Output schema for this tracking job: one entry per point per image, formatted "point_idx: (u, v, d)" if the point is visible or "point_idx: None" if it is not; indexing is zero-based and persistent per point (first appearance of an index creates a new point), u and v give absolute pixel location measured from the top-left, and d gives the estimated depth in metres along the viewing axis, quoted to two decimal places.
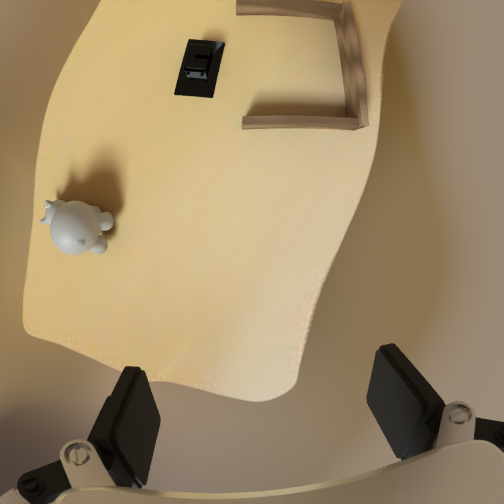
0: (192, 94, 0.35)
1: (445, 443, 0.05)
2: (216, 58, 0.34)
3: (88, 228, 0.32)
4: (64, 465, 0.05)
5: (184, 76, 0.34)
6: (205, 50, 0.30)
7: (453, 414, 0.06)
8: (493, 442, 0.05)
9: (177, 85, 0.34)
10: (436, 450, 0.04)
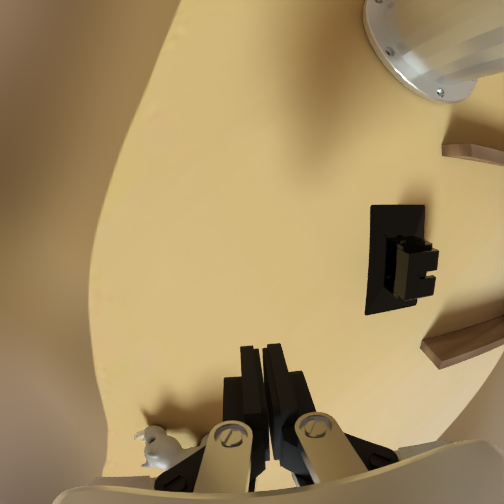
0: (391, 307, 0.24)
1: (323, 462, 0.06)
2: None
3: None
4: (221, 450, 0.06)
5: (379, 284, 0.23)
6: (433, 262, 0.18)
7: (309, 429, 0.07)
8: None
9: (369, 299, 0.23)
10: (436, 450, 0.04)
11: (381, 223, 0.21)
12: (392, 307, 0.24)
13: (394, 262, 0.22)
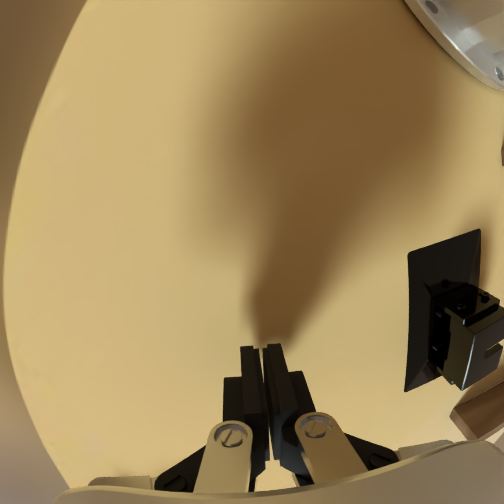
0: (435, 377, 0.15)
1: (323, 462, 0.06)
2: None
3: None
4: (221, 450, 0.06)
5: (421, 358, 0.14)
6: (502, 330, 0.09)
7: (309, 429, 0.07)
8: None
9: (407, 378, 0.14)
10: (436, 450, 0.04)
11: (425, 278, 0.13)
12: (437, 376, 0.15)
13: (443, 328, 0.13)
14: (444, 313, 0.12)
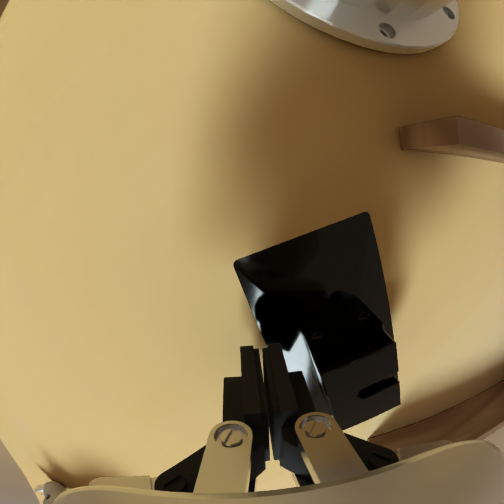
0: None
1: (323, 462, 0.06)
2: (369, 300, 0.12)
3: None
4: (221, 450, 0.06)
5: (310, 384, 0.13)
6: (385, 365, 0.09)
7: (309, 429, 0.07)
8: None
9: None
10: (436, 450, 0.04)
11: (279, 299, 0.12)
12: None
13: None
14: None
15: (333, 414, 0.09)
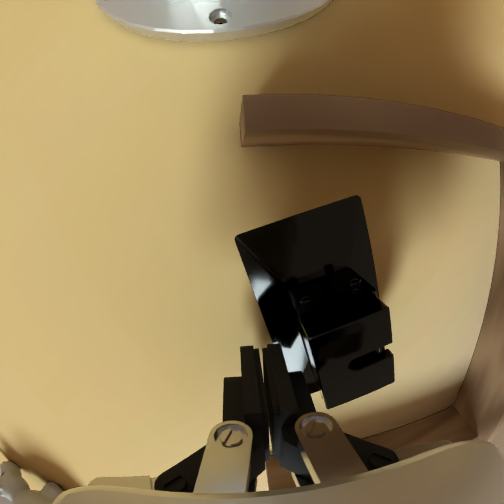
0: None
1: (323, 462, 0.06)
2: (361, 272, 0.12)
3: None
4: (221, 450, 0.06)
5: (299, 361, 0.13)
6: (378, 333, 0.09)
7: (309, 429, 0.07)
8: None
9: None
10: (436, 450, 0.04)
11: (268, 265, 0.12)
12: None
13: None
14: (307, 307, 0.12)
15: (322, 387, 0.09)
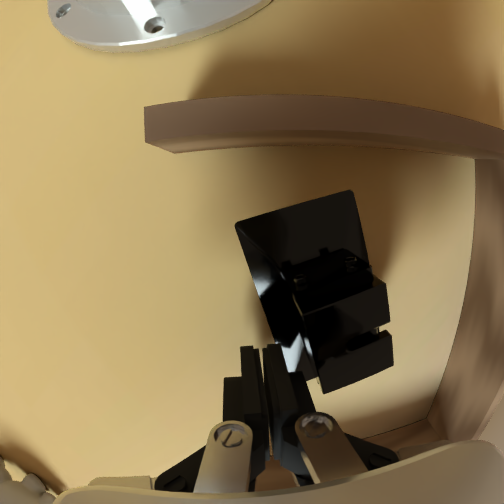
0: None
1: (323, 462, 0.06)
2: (357, 254, 0.12)
3: None
4: (221, 450, 0.06)
5: (295, 347, 0.13)
6: (375, 311, 0.09)
7: (309, 429, 0.07)
8: None
9: None
10: (436, 450, 0.04)
11: (261, 245, 0.12)
12: None
13: None
14: None
15: (317, 369, 0.09)
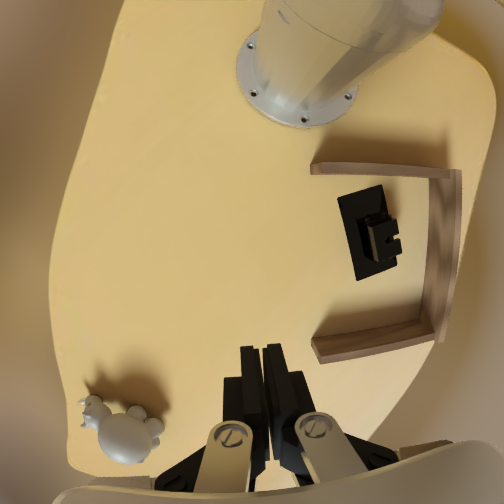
0: (376, 271, 0.31)
1: (323, 462, 0.06)
2: None
3: (145, 451, 0.27)
4: (221, 450, 0.06)
5: (360, 255, 0.30)
6: (393, 228, 0.26)
7: (309, 429, 0.07)
8: None
9: (356, 269, 0.30)
10: (436, 450, 0.04)
11: (349, 209, 0.29)
12: (377, 271, 0.31)
13: (367, 236, 0.29)
14: None
15: (376, 249, 0.26)
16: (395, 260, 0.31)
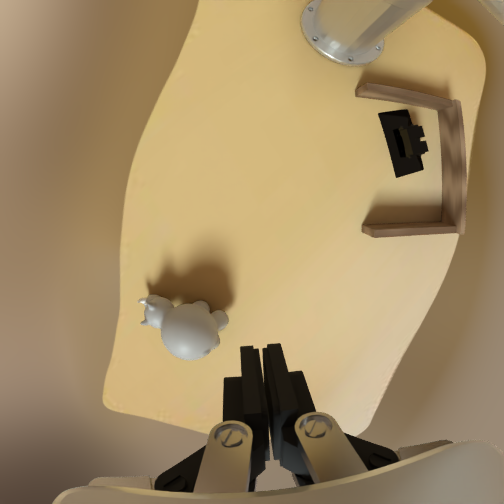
0: (409, 171, 0.37)
1: (323, 462, 0.06)
2: None
3: (213, 338, 0.34)
4: (221, 450, 0.06)
5: (397, 156, 0.36)
6: (420, 132, 0.31)
7: (309, 429, 0.07)
8: None
9: (395, 167, 0.36)
10: (436, 450, 0.04)
11: (387, 122, 0.35)
12: (410, 171, 0.37)
13: (401, 142, 0.35)
14: (399, 135, 0.35)
15: (411, 145, 0.32)
16: (422, 165, 0.37)
